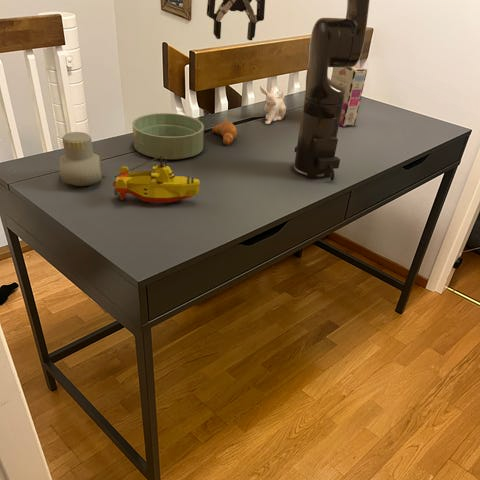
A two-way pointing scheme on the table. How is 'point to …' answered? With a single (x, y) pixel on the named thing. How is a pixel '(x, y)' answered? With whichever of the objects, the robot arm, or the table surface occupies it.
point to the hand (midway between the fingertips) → (234, 39)
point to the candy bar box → (350, 91)
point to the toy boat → (155, 184)
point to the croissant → (226, 131)
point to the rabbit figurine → (274, 105)
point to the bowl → (168, 135)
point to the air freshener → (79, 160)
